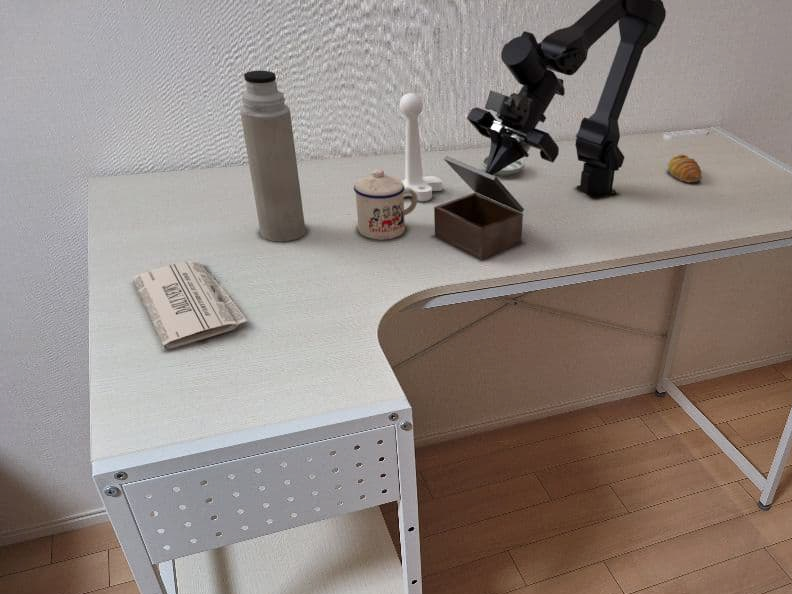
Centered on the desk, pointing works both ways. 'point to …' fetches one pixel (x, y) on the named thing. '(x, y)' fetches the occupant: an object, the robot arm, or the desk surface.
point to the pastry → (684, 168)
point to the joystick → (415, 152)
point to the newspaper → (186, 303)
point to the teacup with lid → (382, 205)
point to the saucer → (509, 169)
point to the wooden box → (478, 225)
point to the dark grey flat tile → (484, 184)
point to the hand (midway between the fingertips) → (488, 174)
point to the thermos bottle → (272, 158)
